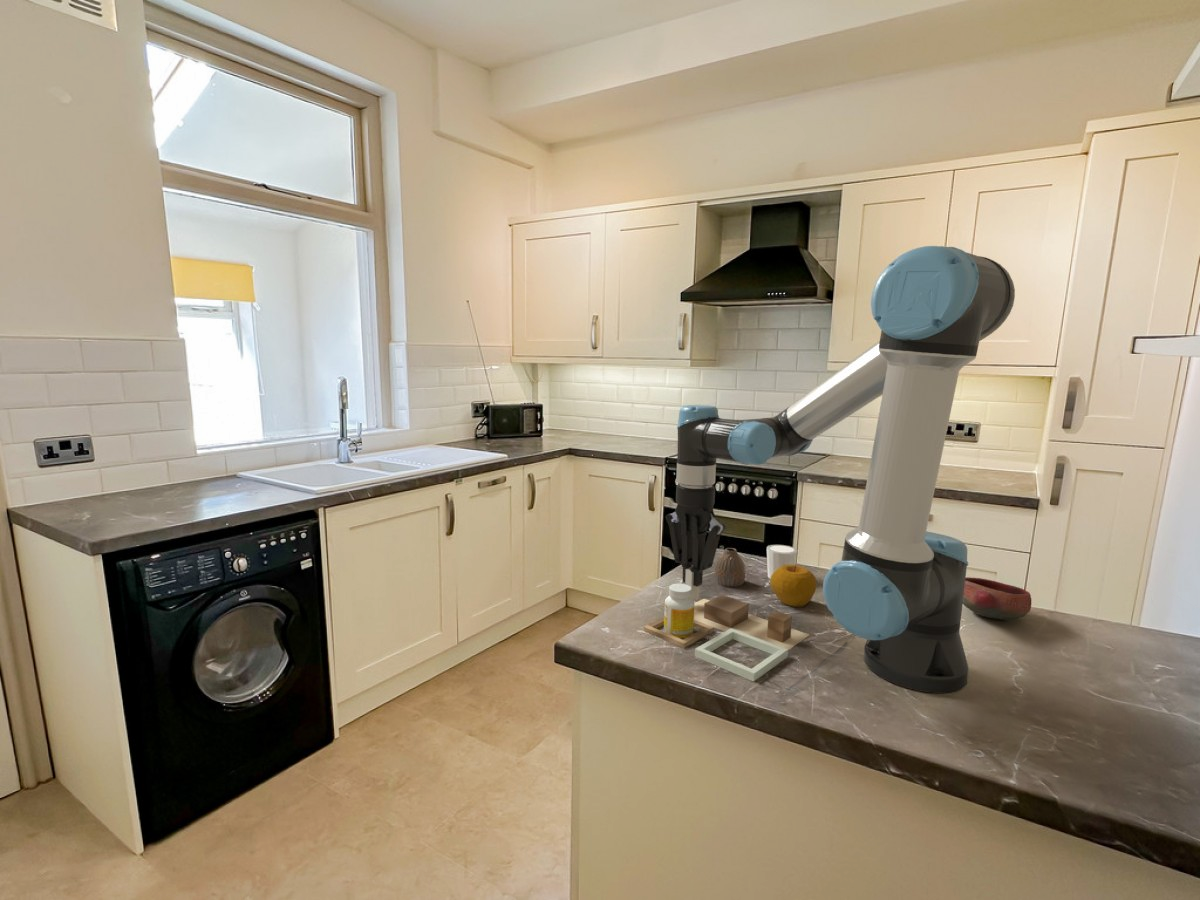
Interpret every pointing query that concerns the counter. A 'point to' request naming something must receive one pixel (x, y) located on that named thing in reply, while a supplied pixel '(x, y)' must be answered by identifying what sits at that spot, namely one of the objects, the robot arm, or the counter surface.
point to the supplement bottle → (679, 611)
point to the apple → (793, 585)
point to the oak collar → (677, 641)
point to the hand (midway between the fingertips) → (691, 599)
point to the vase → (730, 569)
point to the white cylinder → (779, 557)
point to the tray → (741, 670)
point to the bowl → (995, 599)
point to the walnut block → (726, 611)
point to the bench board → (760, 627)
